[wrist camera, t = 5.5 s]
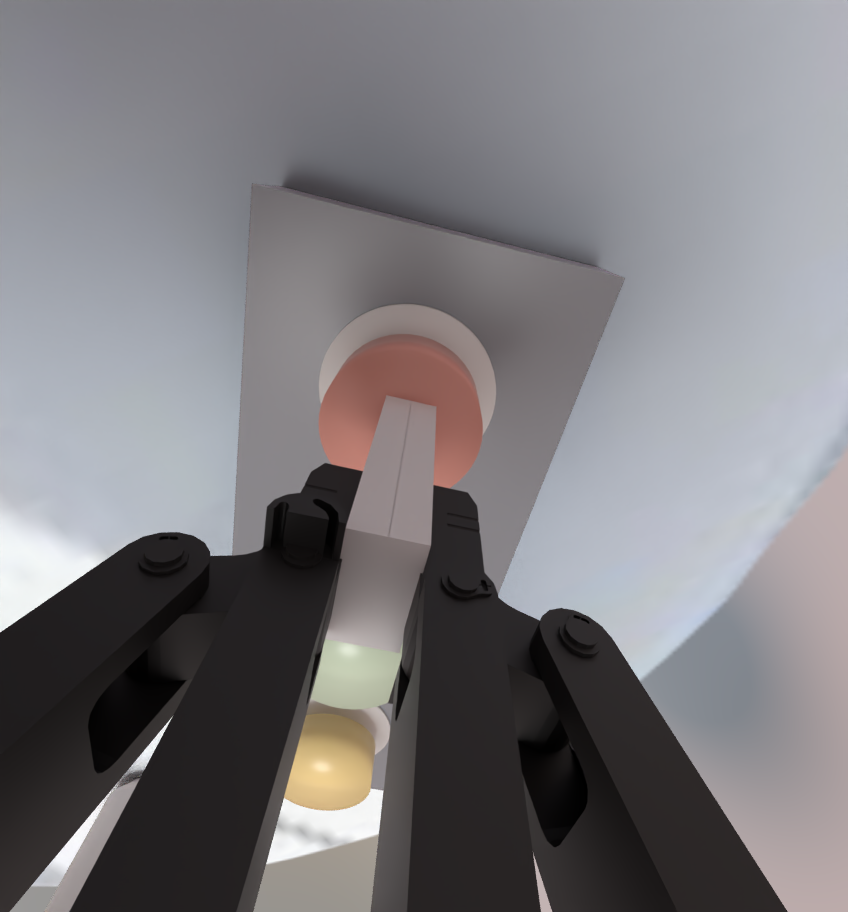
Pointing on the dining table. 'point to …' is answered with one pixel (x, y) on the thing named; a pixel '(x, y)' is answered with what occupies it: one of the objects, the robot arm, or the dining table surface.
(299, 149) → the dining table surface
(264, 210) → the console
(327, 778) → the button ochre
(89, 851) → the can
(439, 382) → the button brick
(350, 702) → the button sage
